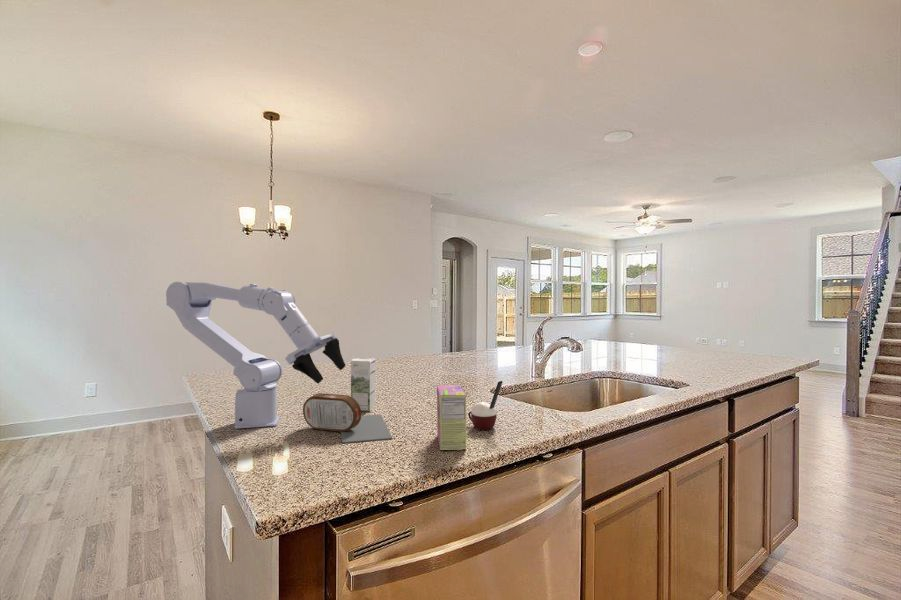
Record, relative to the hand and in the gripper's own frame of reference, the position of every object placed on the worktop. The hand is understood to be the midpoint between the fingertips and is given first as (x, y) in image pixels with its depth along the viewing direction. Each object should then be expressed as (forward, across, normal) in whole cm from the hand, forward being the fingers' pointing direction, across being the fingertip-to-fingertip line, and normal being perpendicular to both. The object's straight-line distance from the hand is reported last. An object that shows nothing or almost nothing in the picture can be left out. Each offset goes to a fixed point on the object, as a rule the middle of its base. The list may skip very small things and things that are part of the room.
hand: (332, 374), depth 106 cm
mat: (+15, 0, +2) cm, 15 cm away
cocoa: (+34, +15, -15) cm, 40 cm away
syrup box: (+11, +12, +15) cm, 22 cm away
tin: (+11, -5, +6) cm, 13 cm away
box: (+30, +2, -16) cm, 34 cm away
